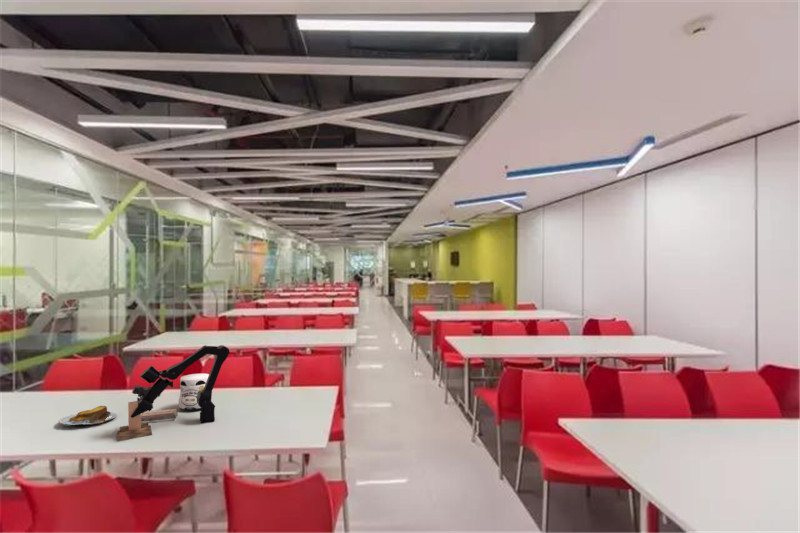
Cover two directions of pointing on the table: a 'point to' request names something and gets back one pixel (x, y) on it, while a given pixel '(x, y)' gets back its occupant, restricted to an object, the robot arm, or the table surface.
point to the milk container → (191, 390)
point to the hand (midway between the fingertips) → (131, 415)
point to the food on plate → (88, 417)
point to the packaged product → (159, 416)
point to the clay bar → (135, 421)
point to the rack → (134, 432)
